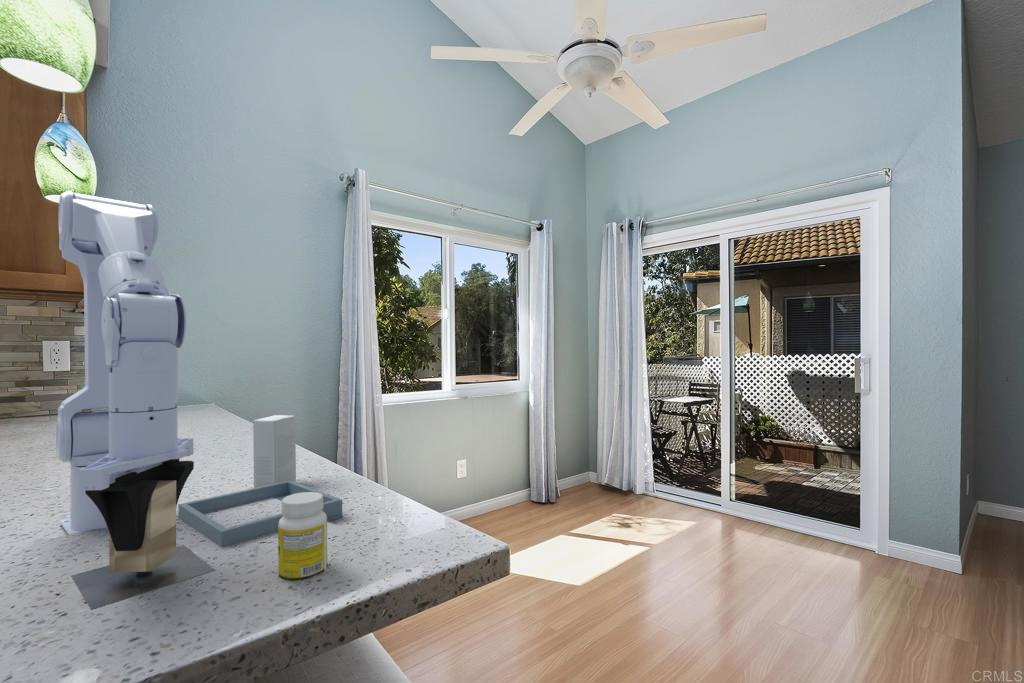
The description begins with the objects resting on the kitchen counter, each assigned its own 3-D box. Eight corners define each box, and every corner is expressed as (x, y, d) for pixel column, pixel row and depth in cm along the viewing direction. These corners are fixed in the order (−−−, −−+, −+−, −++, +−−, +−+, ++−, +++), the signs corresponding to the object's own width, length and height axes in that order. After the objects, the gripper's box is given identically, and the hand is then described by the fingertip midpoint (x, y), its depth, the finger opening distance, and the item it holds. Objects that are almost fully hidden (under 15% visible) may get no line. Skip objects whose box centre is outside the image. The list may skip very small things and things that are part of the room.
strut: (109, 572, 49) (109, 492, 49) (137, 555, 53) (137, 481, 53) (151, 571, 49) (151, 491, 49) (176, 554, 53) (176, 480, 53)
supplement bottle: (292, 566, 54) (291, 490, 54) (334, 567, 54) (334, 490, 54) (269, 588, 49) (269, 504, 49) (315, 589, 49) (315, 504, 49)
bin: (178, 522, 68) (178, 504, 68) (290, 495, 79) (290, 480, 79) (221, 553, 57) (221, 531, 57) (342, 517, 69) (342, 499, 69)
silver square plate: (71, 583, 50) (71, 547, 50) (183, 551, 58) (183, 520, 58) (91, 618, 44) (91, 576, 44) (215, 577, 51) (215, 542, 51)
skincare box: (274, 481, 88) (274, 414, 88) (296, 482, 87) (296, 415, 87) (252, 491, 82) (252, 419, 82) (275, 492, 81) (275, 420, 81)
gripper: (137, 419, 44) (137, 570, 44) (220, 400, 59) (220, 514, 58) (53, 420, 43) (52, 573, 43) (157, 401, 58) (157, 516, 58)
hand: (143, 540), depth 51 cm, fingers closed on strut, 4 cm apart
